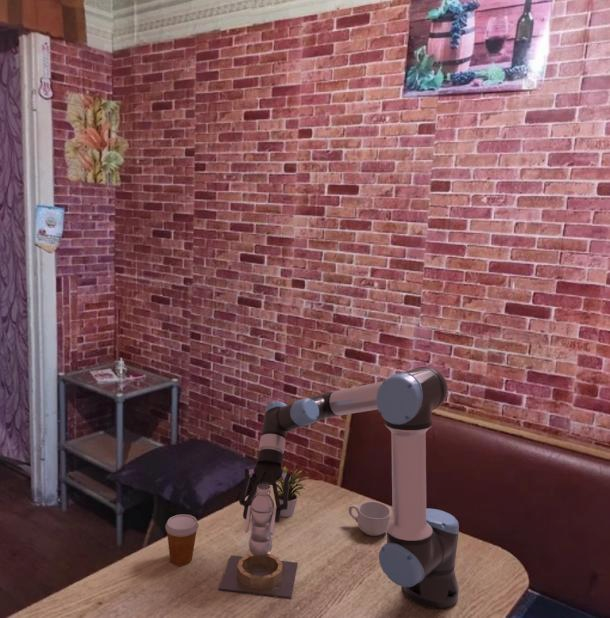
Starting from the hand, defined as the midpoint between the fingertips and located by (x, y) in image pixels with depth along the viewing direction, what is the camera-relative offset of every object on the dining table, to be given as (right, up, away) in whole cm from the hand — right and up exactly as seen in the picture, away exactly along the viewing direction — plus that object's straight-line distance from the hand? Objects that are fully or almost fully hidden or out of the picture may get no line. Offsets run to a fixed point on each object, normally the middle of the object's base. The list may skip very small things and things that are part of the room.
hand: (259, 532), depth 163 cm
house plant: (+6, -10, +41) cm, 42 cm away
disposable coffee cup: (-24, -13, +12) cm, 29 cm away
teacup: (+34, -12, +35) cm, 50 cm away
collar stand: (0, -15, +6) cm, 16 cm away
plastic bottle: (0, -8, +5) cm, 9 cm away
